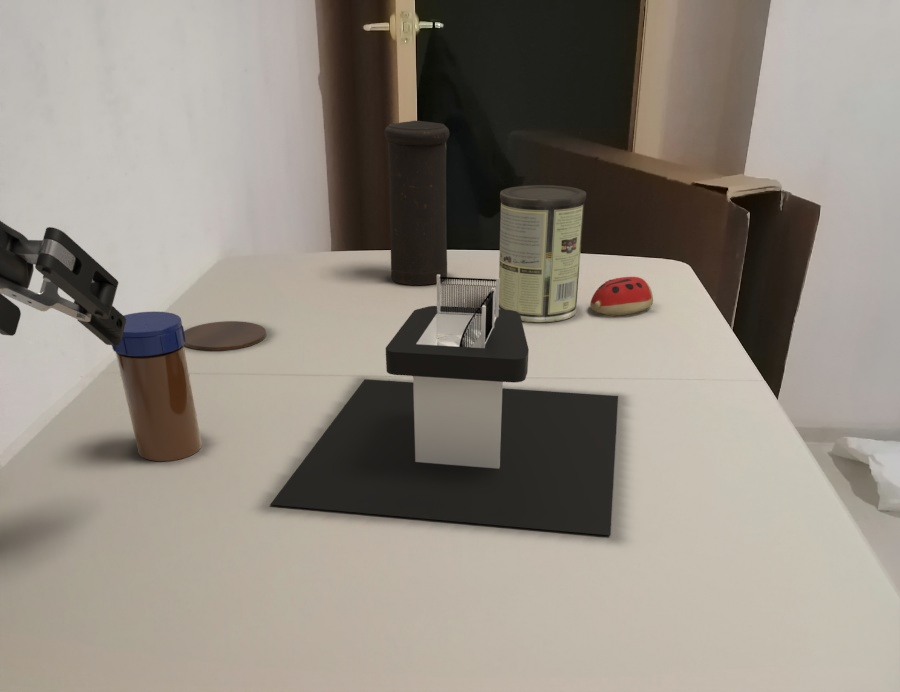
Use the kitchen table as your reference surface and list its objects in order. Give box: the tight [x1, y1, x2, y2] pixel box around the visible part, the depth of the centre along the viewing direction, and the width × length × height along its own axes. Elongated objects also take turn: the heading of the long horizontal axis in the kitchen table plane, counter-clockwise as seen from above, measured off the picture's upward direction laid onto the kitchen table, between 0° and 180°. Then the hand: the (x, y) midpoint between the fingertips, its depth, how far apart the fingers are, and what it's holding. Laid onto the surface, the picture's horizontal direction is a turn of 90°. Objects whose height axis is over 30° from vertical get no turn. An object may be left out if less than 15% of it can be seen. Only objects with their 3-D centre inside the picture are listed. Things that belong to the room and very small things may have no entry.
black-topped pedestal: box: [270, 274, 619, 536], centre depth 71 cm, size 28×26×13 cm
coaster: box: [184, 320, 267, 352], centre depth 100 cm, size 10×10×1 cm
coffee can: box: [498, 184, 587, 323], centre depth 105 cm, size 10×10×14 cm
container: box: [384, 120, 450, 286], centre depth 117 cm, size 9×9×20 cm
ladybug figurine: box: [589, 276, 654, 316], centre depth 109 cm, size 7×10×4 cm
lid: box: [110, 311, 186, 356], centre depth 69 cm, size 6×6×2 cm
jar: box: [115, 345, 202, 462], centre depth 72 cm, size 5×5×11 cm
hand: (65, 328), depth 60 cm, fingers open, 8 cm apart
